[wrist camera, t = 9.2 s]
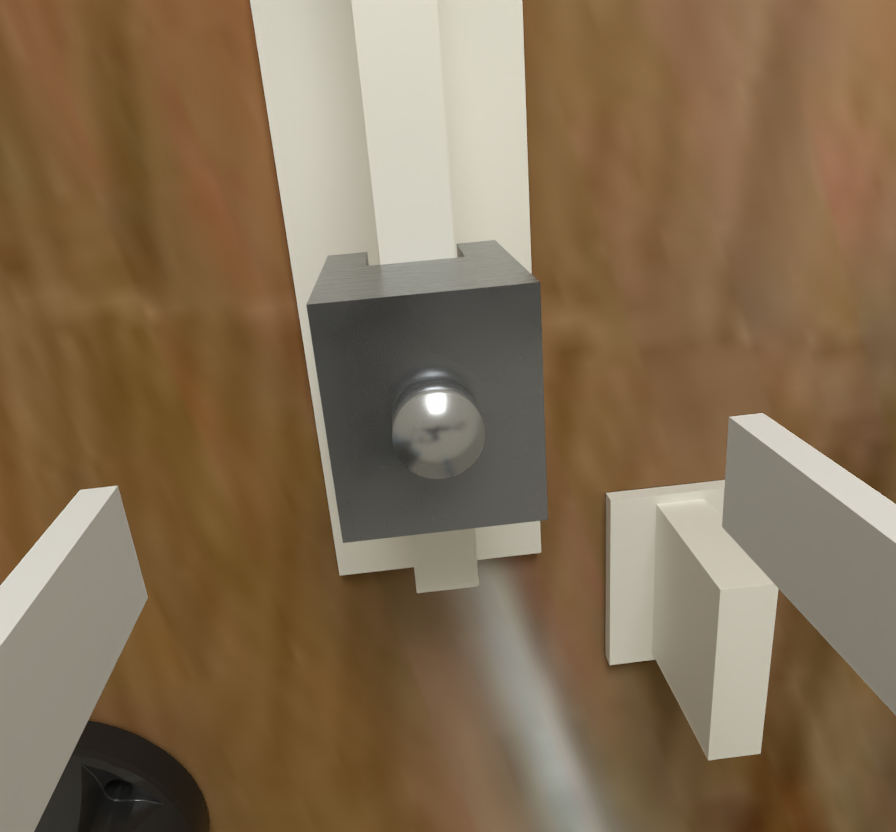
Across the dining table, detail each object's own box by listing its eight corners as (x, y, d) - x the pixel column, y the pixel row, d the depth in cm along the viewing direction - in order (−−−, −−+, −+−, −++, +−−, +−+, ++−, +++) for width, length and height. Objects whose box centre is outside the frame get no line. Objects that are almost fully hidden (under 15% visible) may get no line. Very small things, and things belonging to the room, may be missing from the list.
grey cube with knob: (352, 435, 28) (340, 566, 20) (327, 255, 26) (301, 315, 17) (504, 420, 29) (556, 541, 20) (494, 240, 26) (550, 291, 18)
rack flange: (340, 566, 36) (326, 715, 27) (184, -442, 23) (47, -844, 13) (538, 544, 37) (590, 683, 27) (501, -455, 23) (582, -851, 14)
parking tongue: (605, 655, 40) (656, 775, 32) (605, 492, 36) (664, 586, 29) (729, 640, 40) (809, 755, 33) (743, 478, 36) (836, 566, 29)
